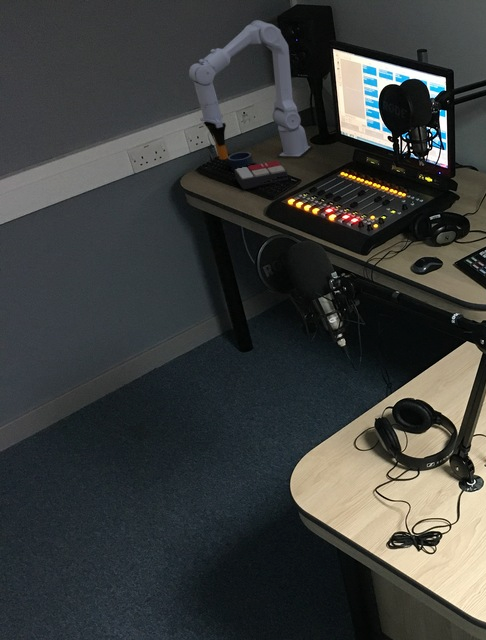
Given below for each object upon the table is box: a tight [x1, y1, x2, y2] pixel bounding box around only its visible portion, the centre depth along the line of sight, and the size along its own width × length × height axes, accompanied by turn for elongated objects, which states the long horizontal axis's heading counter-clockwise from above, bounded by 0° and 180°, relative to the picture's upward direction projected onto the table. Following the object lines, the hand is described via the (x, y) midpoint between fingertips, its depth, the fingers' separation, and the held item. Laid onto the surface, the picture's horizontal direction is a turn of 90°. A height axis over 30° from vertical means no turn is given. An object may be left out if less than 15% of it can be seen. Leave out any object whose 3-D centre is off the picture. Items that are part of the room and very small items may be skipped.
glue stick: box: [212, 136, 229, 160], centre depth 280 cm, size 3×3×8 cm
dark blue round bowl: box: [227, 151, 255, 171], centre depth 289 cm, size 8×8×4 cm
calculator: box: [233, 160, 289, 190], centre depth 278 cm, size 11×4×15 cm
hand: (220, 143), depth 280 cm, fingers closed on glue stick, 3 cm apart
